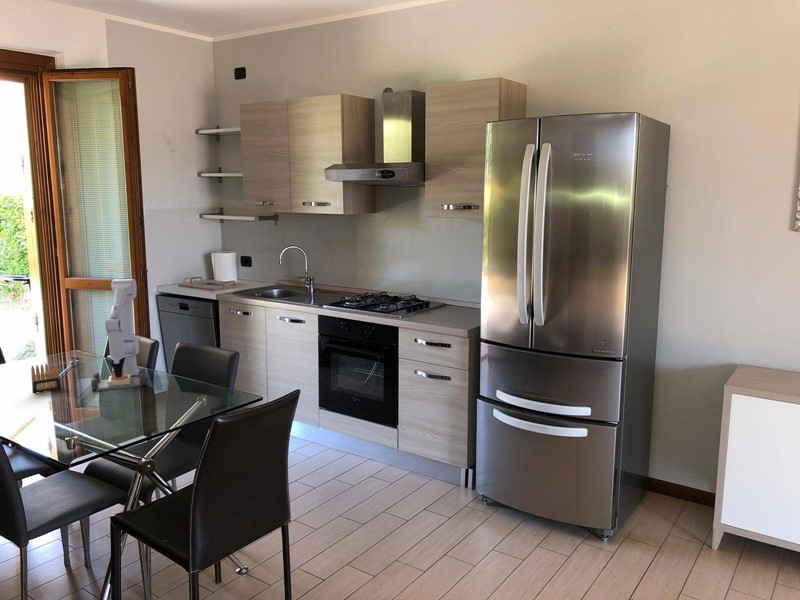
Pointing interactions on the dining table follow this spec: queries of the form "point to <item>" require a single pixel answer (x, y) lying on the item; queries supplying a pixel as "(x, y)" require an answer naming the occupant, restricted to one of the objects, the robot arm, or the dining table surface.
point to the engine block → (118, 377)
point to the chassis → (118, 381)
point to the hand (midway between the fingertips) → (119, 375)
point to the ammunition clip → (48, 381)
